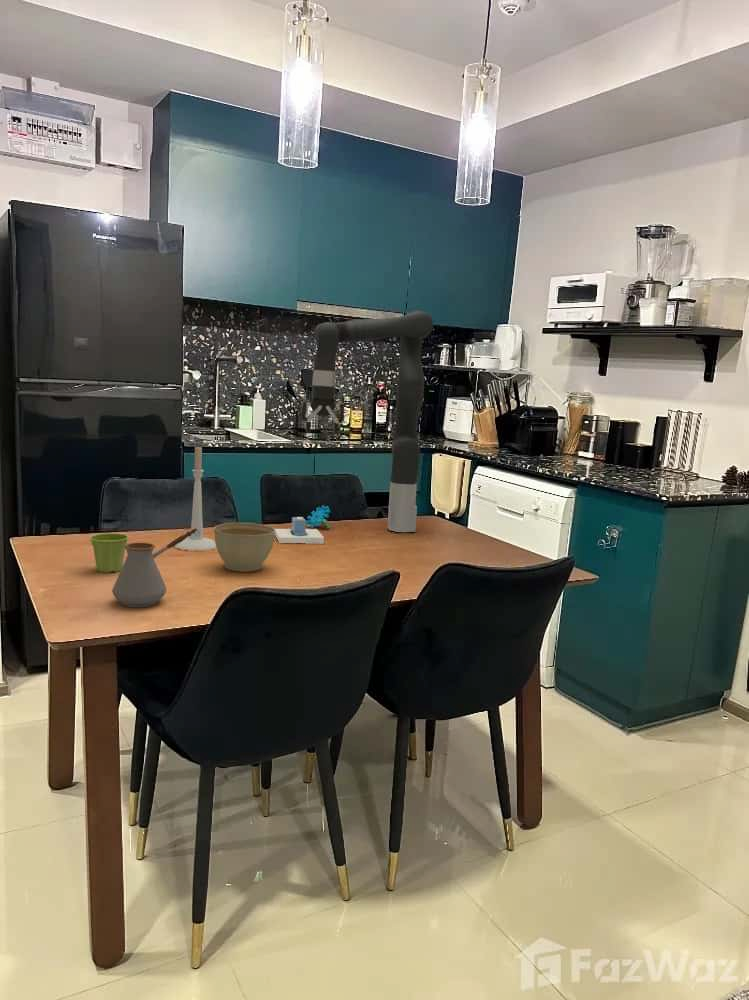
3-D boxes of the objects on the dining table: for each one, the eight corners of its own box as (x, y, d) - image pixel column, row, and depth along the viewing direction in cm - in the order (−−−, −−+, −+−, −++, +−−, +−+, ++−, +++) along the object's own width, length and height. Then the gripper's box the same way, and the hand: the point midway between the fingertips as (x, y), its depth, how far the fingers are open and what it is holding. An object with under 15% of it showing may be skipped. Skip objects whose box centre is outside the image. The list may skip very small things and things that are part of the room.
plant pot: (82, 572, 184) (82, 538, 182) (101, 564, 193) (101, 531, 191) (117, 576, 182) (117, 542, 181) (134, 567, 192) (135, 534, 190)
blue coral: (300, 520, 259) (321, 500, 261) (310, 530, 262) (331, 511, 264) (311, 530, 250) (333, 510, 251) (322, 541, 253) (343, 521, 254)
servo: (301, 535, 241) (302, 514, 240) (305, 542, 233) (306, 519, 231) (290, 535, 240) (291, 513, 239) (294, 542, 232) (295, 519, 231)
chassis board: (316, 535, 244) (316, 529, 244) (323, 543, 232) (323, 537, 231) (274, 534, 240) (274, 528, 240) (279, 543, 228) (279, 537, 228)
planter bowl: (248, 579, 186) (249, 537, 185) (200, 568, 194) (200, 528, 192) (285, 567, 200) (287, 528, 199) (239, 557, 208) (240, 520, 206)
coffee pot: (130, 613, 155) (131, 544, 153) (101, 601, 162) (101, 534, 160) (212, 595, 172) (214, 532, 169) (182, 584, 179) (183, 523, 176)
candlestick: (217, 542, 226) (219, 444, 221) (219, 551, 214) (222, 448, 209) (174, 542, 222) (175, 443, 218) (174, 552, 210) (175, 447, 205)
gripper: (342, 385, 247) (340, 434, 249) (300, 383, 243) (298, 432, 246) (347, 386, 239) (344, 436, 242) (304, 383, 236) (302, 434, 238)
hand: (321, 434), depth 244 cm, fingers open, 8 cm apart
